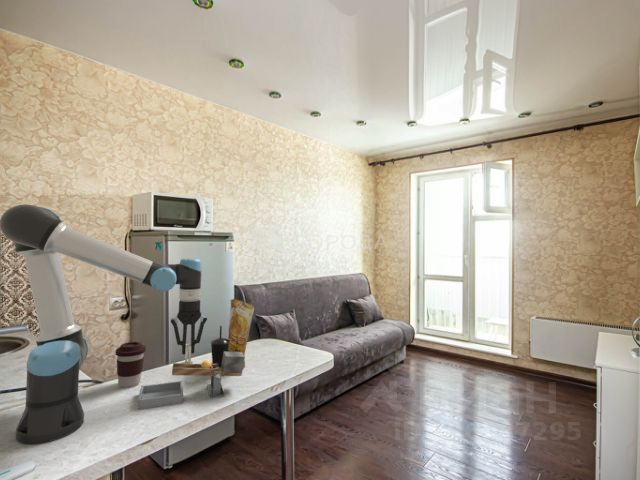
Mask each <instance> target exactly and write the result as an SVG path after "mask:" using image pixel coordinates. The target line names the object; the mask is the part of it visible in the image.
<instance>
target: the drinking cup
mask: <svg viewBox="0 0 640 480" xmlns="http://www.w3.org/2000/svg"><path fill="white" fill-rule="evenodd" d="M222 330H223V327H222V325H220V326H219V337H217V338H215V339H212V340H211V341H210V345H211V364H212V363H219V368H221V365H222V359H223V354H224V351H225V352H228V347H229V343H230V340H228V338H225V337H222V334H223V333H222V332H223V331H222Z"/></svg>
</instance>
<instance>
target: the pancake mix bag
mask: <svg viewBox="0 0 640 480" xmlns="http://www.w3.org/2000/svg"><path fill="white" fill-rule="evenodd" d="M255 309H256V308H255V306H254V305H253V304H252V303H248V302H245V301H243V300H239V299H235V298H232V299H230V308H229V311H230V312H229V322H228V338H227V339H228V340H230V343H229V347H228V352H242V353H243V355H244V356H245V355H246V349H247V345H248V344H247V343H248V338H249V335H250V332H251V331H250V330H251V326H252V321H253V317H254V314H255ZM245 357H246V356H245ZM245 368H246V361H245V359H244V365H243V370H244V369H245Z"/></svg>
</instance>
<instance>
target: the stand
mask: <svg viewBox="0 0 640 480" xmlns="http://www.w3.org/2000/svg"><path fill="white" fill-rule="evenodd" d="M211 364H216V368H219V363H212V362H211ZM206 388H207V391H208V392H207V393H208V396H209V399H211V398H212V399H213V398H217V397H225V392H224V390H223V389H224V387H223V384H222V376H221V370H218V371H214V376H210V383H207V384H206Z"/></svg>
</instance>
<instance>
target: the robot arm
mask: <svg viewBox="0 0 640 480" xmlns="http://www.w3.org/2000/svg"><path fill="white" fill-rule="evenodd" d="M0 232H1V233H2V235H4V237H5V238H6V239H8V240H9V241H11V242H12V243H13V244H14V248H15V253H16V254H17V255H18V256H21V257H23V258H24V263H25V267H26V272H27V276H28V280H29V285H30V291H31V295H32V299H33V304H34V308H35V313H36V316H37V317H36V318H37V322H38V326H39V327H38V328H39V331H40V333H39V334H38V335H37V337H36V339H35V343H36V347H34V348H33V349H32V350H30V352H29V354H28V357H27V361H26V386H25V387H26V391H25V393H26V394H25V407H24V410H23V412H22V415H21V417H20V419H19V422H18V424H17V426H16V428H15V441H17V442H18V443H19V444H23V445H40V444H44V443H48V442H53V441H56V440H59V439H61V438H64V437H66V436H69V435H70V434H72V433H75V432H76V431H77V430H78V429H80V428H81V427H82V425H84V423H85V411H84V410H83V406H82V404H81V401H80V398H79V379H80V376H79V375H80V369H81V368H82V367H83V366H82V365H83V363H84V362H85V361H86V358H87V357H88V352H89V344H88V342H87V340H86V338H85V337H84V336H83V330H82V326H80V325H78V324H76V323H75V320H74V315H73V311H72V308H71V305H72V304H71V301H70V297H69V296H70V295H69V292H68V288H67V281H66V278H65V273H64V267H63V264H62V258H61V254H62V255H64V256H66V257H70V258H72V259H76V260H78V261H81V262H84V263H85V264H88V265H91V266H94V267H98V268H100V269H102V270H105V271H108V272H111V273H113V274H116V275H119V276H122V277H125V278H127V279H129V280H133V281H136V282H138V283H141V284H143V285H145V286H149V287H150V288H153V289H154V290H155V291H158V292H167V291H168V292H169V291H170V290H172V289H173V288H174V287H175V285H179V290H178V292H179V293H178V295H179V296H178V299H179V301H178V313H177V314H176V316H175V317H174V318H173V317H171V318H170V323H171V324H172V326H173V330H174V335H175V341H176V345H178V346H181V354H182V356H183V355H184V361H185V364H187V362H188V363H191V362H192V361H191V360H192V354H194V353H195V346H196V344H200V343H201V339H202V334H203V330H204V327H205V325H206V324H205V323H206V322H207V321H208V317H207V316H206V315H205V316H204V315H203V314H202V312H201V300H200V299H201V296H202V295H201V293H202V272H203V271H202V260H201V259H199V258H181V259H180V261H179V263H176V264H174V263H173V264H172V263H171V264H168V263H164V264H163V263H157V262H155V261H152V260H150V259H148V258H145V257H143V256H140V255H137V254H135V253H133V252H130V251H128V250H125V249H122V248H120V247H117V246H115V245H113V244H110V243H108V242H106V241H103V240H100V239H99V238H95V237H93V236H90V235H88V234H86V233H84V232H80V231H78V230H75V229H73V228H71V227H69V226H67V225H66V222H65V221H63V220H61V218H60V217H59V216H58V215H57V214H56V213H55V212H54V211H52V210H51V209H48V208H45V207H41V206H37V205H33V204H27V203H26V204H19V205H15V206H12V207H9V208H8V209H7V210H5V212H4V213H2V215H1V216H0ZM199 319H200V323H199V327H198V331H197V335H196V337H195V334H196V333H195V332H196V331H195V330H196V328H195V327H196V326H195V325H196V323H197V322H198V321H199ZM178 322H180V323H181V324H182V326H183V327H182V340H181V336H180V332H179V327H178ZM188 325H189V326H190V343H187V333H188V332H187V331H188V328H187V327H188Z"/></svg>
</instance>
